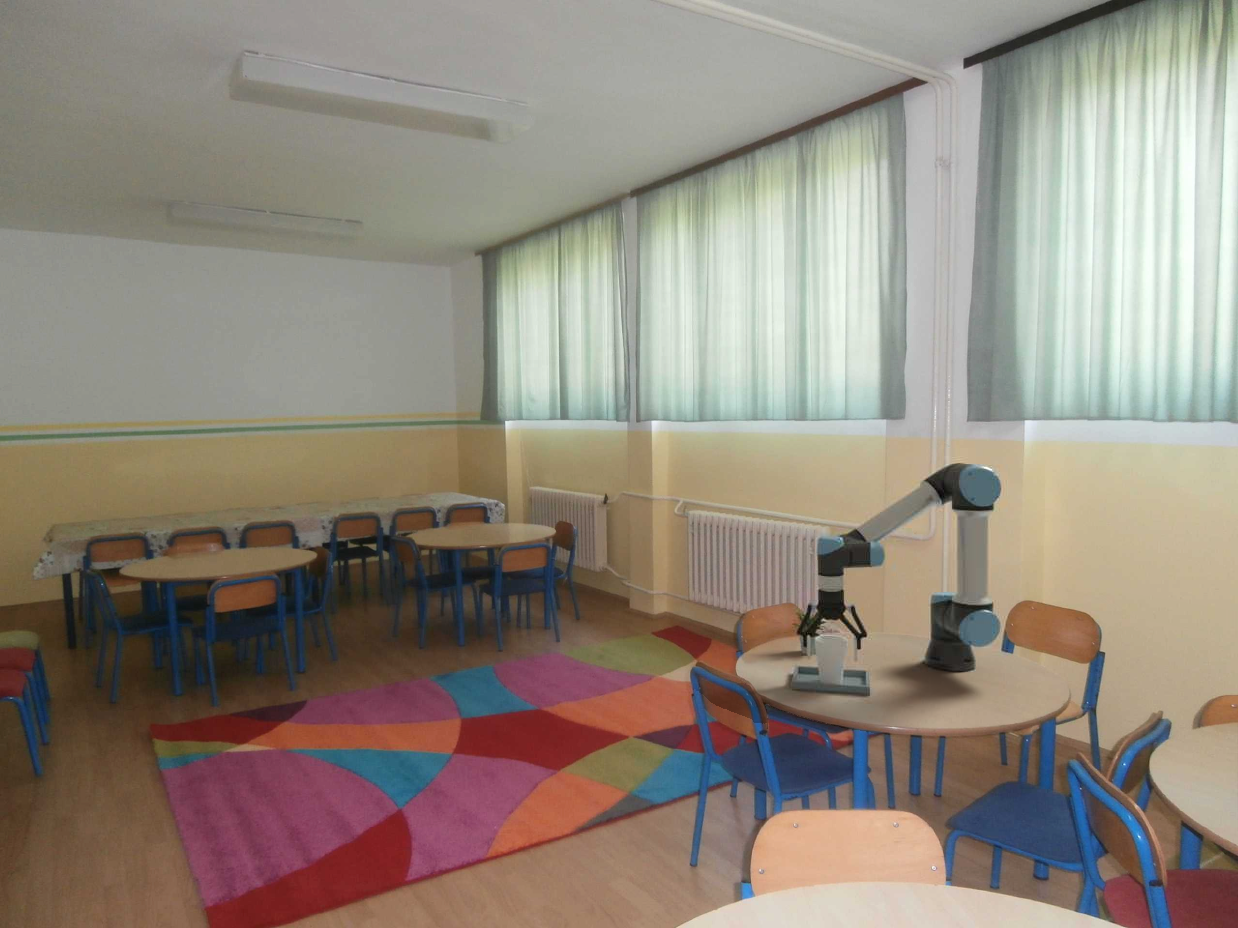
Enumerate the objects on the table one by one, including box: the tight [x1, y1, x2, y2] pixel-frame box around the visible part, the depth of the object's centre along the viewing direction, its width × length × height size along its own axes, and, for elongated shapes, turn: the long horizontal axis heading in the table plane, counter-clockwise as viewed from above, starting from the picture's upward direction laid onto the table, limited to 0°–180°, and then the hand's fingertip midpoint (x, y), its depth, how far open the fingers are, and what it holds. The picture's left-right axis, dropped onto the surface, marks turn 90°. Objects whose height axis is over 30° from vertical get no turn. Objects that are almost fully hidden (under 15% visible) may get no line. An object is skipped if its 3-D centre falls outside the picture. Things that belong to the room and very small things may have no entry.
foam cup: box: [815, 634, 848, 684], centre depth 249 cm, size 10×9×13 cm
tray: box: [791, 665, 871, 696], centre depth 249 cm, size 22×16×2 cm
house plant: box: [784, 608, 829, 656], centre depth 281 cm, size 14×14×16 cm
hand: (832, 658), depth 249 cm, fingers open, 13 cm apart
